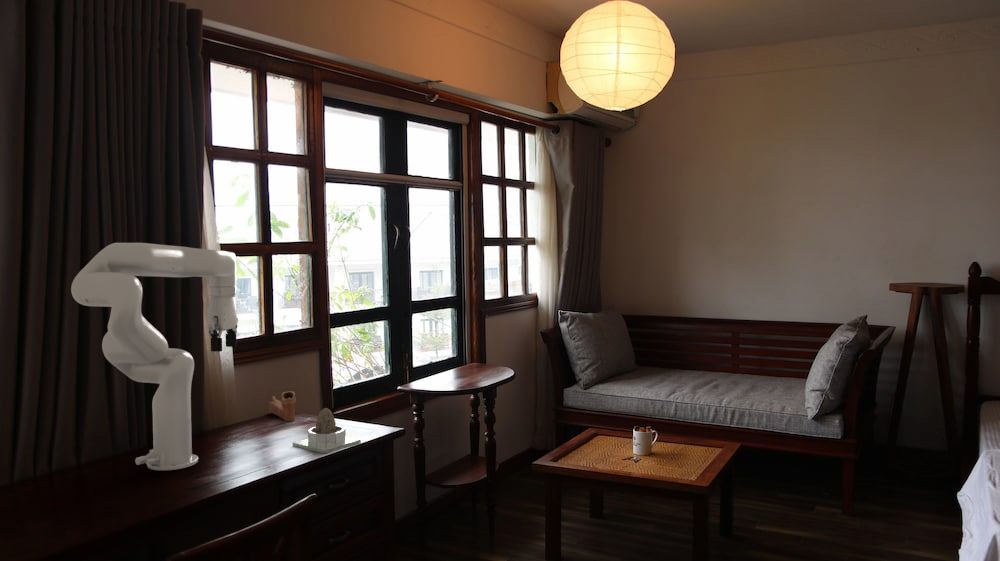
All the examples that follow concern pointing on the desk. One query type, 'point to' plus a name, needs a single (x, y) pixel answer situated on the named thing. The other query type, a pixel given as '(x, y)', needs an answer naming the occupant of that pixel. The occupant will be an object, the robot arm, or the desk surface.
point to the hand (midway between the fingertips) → (224, 348)
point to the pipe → (284, 406)
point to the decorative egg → (325, 422)
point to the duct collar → (326, 440)
